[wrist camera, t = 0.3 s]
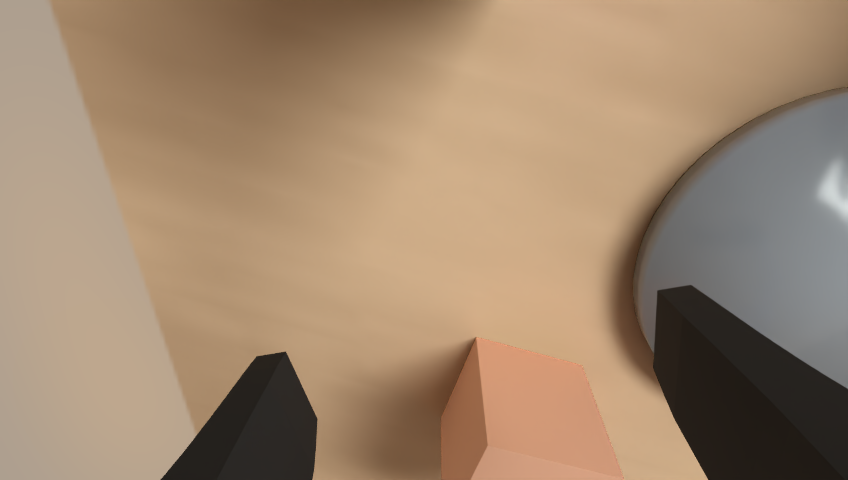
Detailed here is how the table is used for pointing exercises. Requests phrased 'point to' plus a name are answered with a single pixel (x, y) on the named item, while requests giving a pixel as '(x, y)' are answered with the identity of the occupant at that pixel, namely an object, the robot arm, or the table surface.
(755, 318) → the dish
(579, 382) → the block
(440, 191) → the table surface
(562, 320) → the table surface
